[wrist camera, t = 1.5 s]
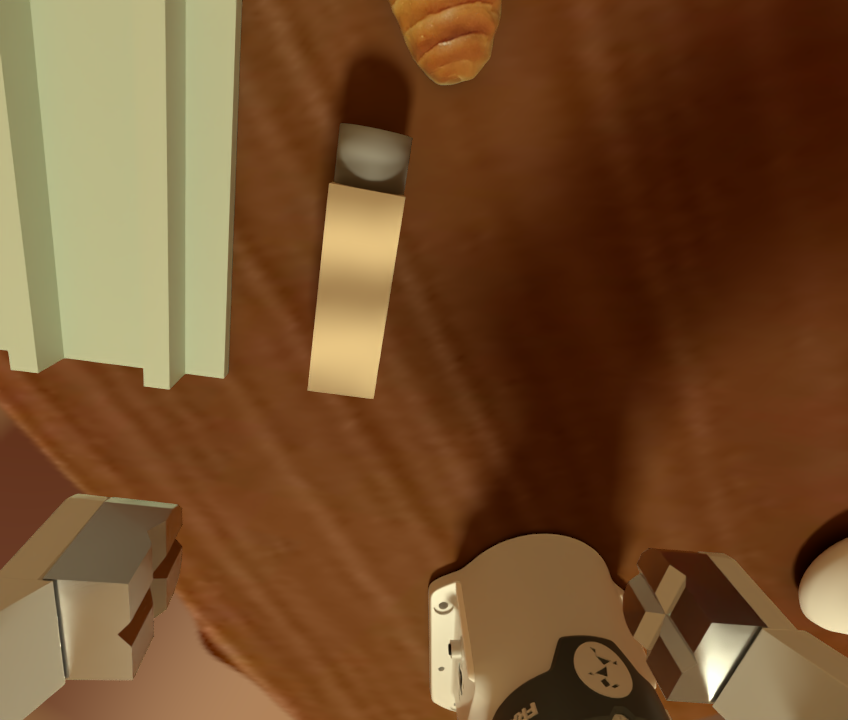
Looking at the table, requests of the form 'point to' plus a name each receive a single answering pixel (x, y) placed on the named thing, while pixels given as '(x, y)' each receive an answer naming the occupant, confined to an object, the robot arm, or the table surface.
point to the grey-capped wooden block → (358, 259)
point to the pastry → (448, 35)
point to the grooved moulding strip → (118, 183)
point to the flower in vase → (827, 589)
